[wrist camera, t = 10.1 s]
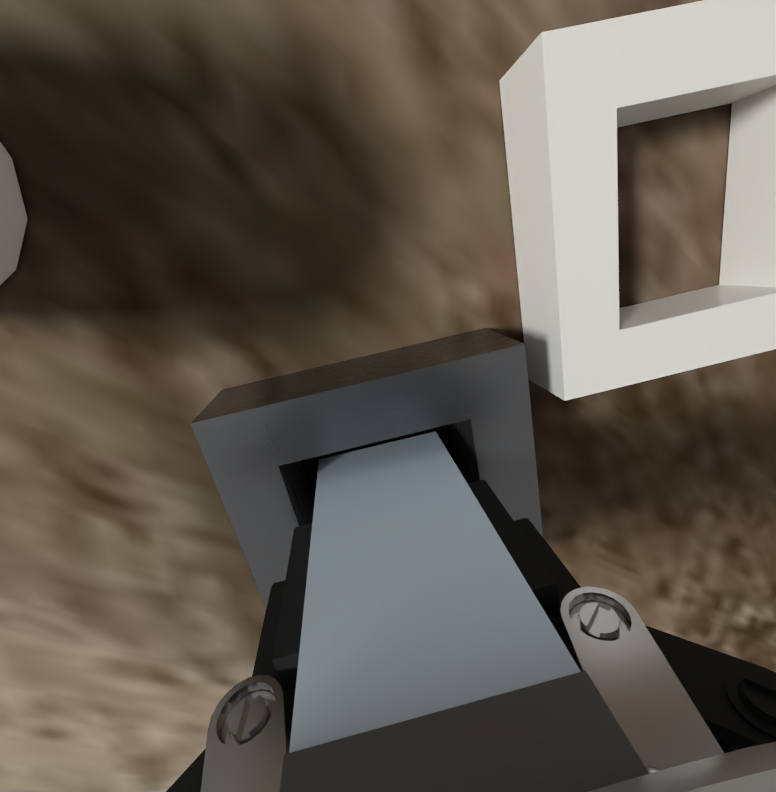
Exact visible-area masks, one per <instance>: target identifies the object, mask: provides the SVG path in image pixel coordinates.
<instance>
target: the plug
mask: <svg viewBox="0 0 776 792" xmlns="http://www.w3.org/2000/svg"><path fill="white" fill-rule="evenodd" d="M647 774H649V772H648V770H647V769H646V767H645V766H644V764H643V762H642V761H641V759H640V757H639V756H638V754H637V753H636V751H635V749H634V748H633V746H632V745H631V743H630V741H629V740H628V738H627V736H626V735H625V733H624V732H623V730H622V728H621V727H620V725H619V723H618V722H617V720H616V719H615V717H614V715H613V714H612V712H611V711H610V709H609V707H608V706H607V704H606V702H605V701H604V699H603V698H602V696H601V694H600V693H599V691H598V689H597V688H596V686H595V685H594V683H593V681H592V680H591V678H590V677H589V675H588V673H587V672H586V671H582V672H581V671H580V669H579V668H578V666H577V664H576V663H575V661H574V659H573V658H572V656H571V654H570V653H569V651H568V649H567V648H566V646H565V644H564V643H563V641H562V640H561V638H560V636H559V635H558V633H557V631H556V630H555V628H554V626H553V625H552V623H551V621H550V620H549V618H548V616H547V615H546V613H545V611H544V610H543V608H542V606H541V605H540V603H539V601H538V600H537V598H536V596H535V595H534V593H533V592H532V590H531V588H530V587H529V585H528V583H527V582H526V580H525V578H524V577H523V575H522V573H521V572H520V570H519V568H518V567H517V565H516V563H515V562H514V560H513V558H512V557H511V555H510V553H509V552H508V550H507V548H506V547H505V545H504V544H503V542H502V540H501V539H500V537H499V535H498V534H497V532H496V530H495V529H494V527H493V525H492V524H491V522H490V520H489V519H488V517H487V515H486V514H485V512H484V510H483V509H482V507H481V505H480V504H479V502H478V500H477V499H476V497H475V496H474V494H473V492H472V491H471V489H470V487H469V486H468V484H467V482H466V481H465V479H464V477H463V476H462V474H461V472H460V471H459V469H458V467H457V466H456V464H455V462H454V461H453V459H452V457H451V456H450V454H449V452H448V451H447V449H446V448H445V446H444V444H443V443H442V441H441V439H440V438H439V436H438V434H437V433H436V431H435V432H431V433H427V434H423V435H418V436H414V437H410V438H406V439H402V440H398V441H394V442H389V443H385V444H381V445H377V446H373V447H369V448H365V449H360V450H356V451H352V452H348V453H344V454H340V455H336V456H331V457H327V458H323V459H319V463H318V473H317V483H316V492H315V502H314V512H313V522H312V532H311V542H310V551H309V561H308V571H307V581H306V591H305V601H304V611H303V620H302V630H301V640H300V650H299V660H298V670H297V680H296V689H295V699H294V709H293V719H292V729H291V739H290V748H289V753H287V754H284V757H283V766H282V775H281V784H280V792H588V791H592V790H595V789H599V788H602V787H606V786H609V785H612V784H616V783H619V782H623V781H626V780H630V779H633V778H637V777H640V776H643V775H647Z"/></svg>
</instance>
